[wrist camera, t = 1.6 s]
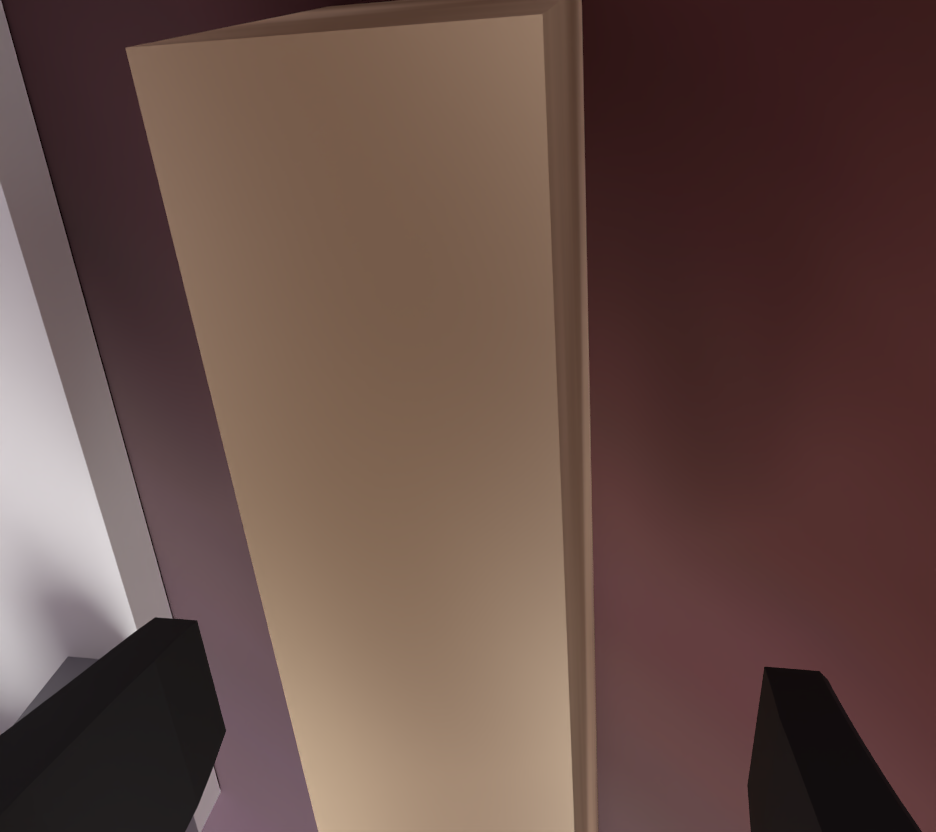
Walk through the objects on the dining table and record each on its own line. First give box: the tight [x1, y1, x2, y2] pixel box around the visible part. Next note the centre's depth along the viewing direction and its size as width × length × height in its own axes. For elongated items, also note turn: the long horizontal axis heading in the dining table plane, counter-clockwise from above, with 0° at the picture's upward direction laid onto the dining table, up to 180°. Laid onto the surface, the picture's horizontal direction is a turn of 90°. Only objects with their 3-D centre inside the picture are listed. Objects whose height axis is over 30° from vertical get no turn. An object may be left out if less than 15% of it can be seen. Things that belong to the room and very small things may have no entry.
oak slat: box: [126, 0, 598, 832], centre depth 12 cm, size 3×16×5 cm, turn 5°
